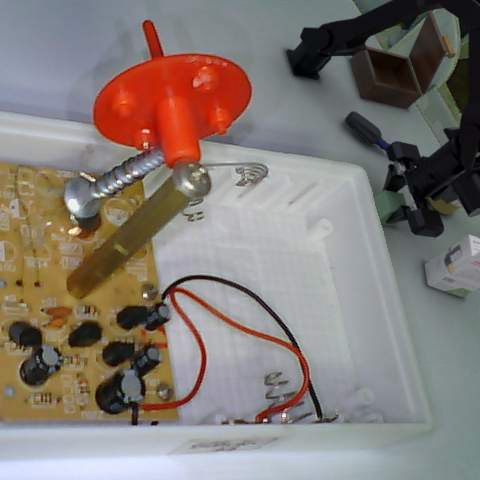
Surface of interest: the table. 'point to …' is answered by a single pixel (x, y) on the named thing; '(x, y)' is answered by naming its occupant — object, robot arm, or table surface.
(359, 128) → the screwdriver
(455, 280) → the ink box
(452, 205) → the canister
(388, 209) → the block
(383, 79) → the chest
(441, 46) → the lid
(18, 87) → the table surface
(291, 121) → the table surface
